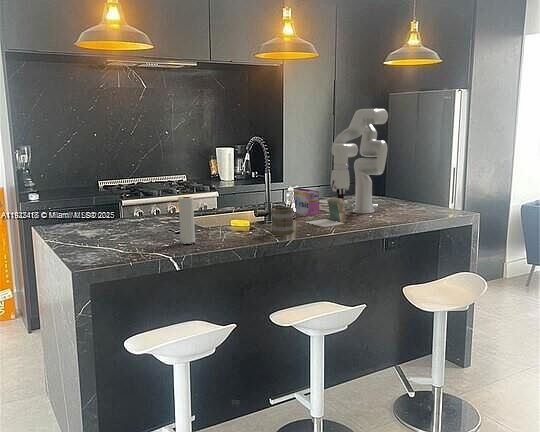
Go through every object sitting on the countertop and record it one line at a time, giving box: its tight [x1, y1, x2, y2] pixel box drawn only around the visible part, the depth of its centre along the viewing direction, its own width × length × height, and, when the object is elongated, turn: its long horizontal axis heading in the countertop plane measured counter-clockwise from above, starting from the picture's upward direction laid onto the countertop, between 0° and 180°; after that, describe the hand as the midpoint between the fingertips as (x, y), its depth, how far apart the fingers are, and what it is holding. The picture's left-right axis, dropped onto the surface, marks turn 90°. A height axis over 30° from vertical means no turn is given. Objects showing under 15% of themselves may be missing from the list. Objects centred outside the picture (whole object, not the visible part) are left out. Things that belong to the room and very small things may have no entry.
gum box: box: [286, 187, 320, 217], centre depth 319 cm, size 24×8×14 cm, turn 34°
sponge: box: [326, 197, 347, 223], centre depth 289 cm, size 4×8×12 cm, turn 34°
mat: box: [304, 218, 345, 228], centre depth 286 cm, size 14×16×1 cm
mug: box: [271, 206, 294, 236], centre depth 266 cm, size 16×11×12 cm
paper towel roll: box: [177, 196, 196, 243], centre depth 243 cm, size 7×6×21 cm
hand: (340, 201), depth 290 cm, fingers closed
